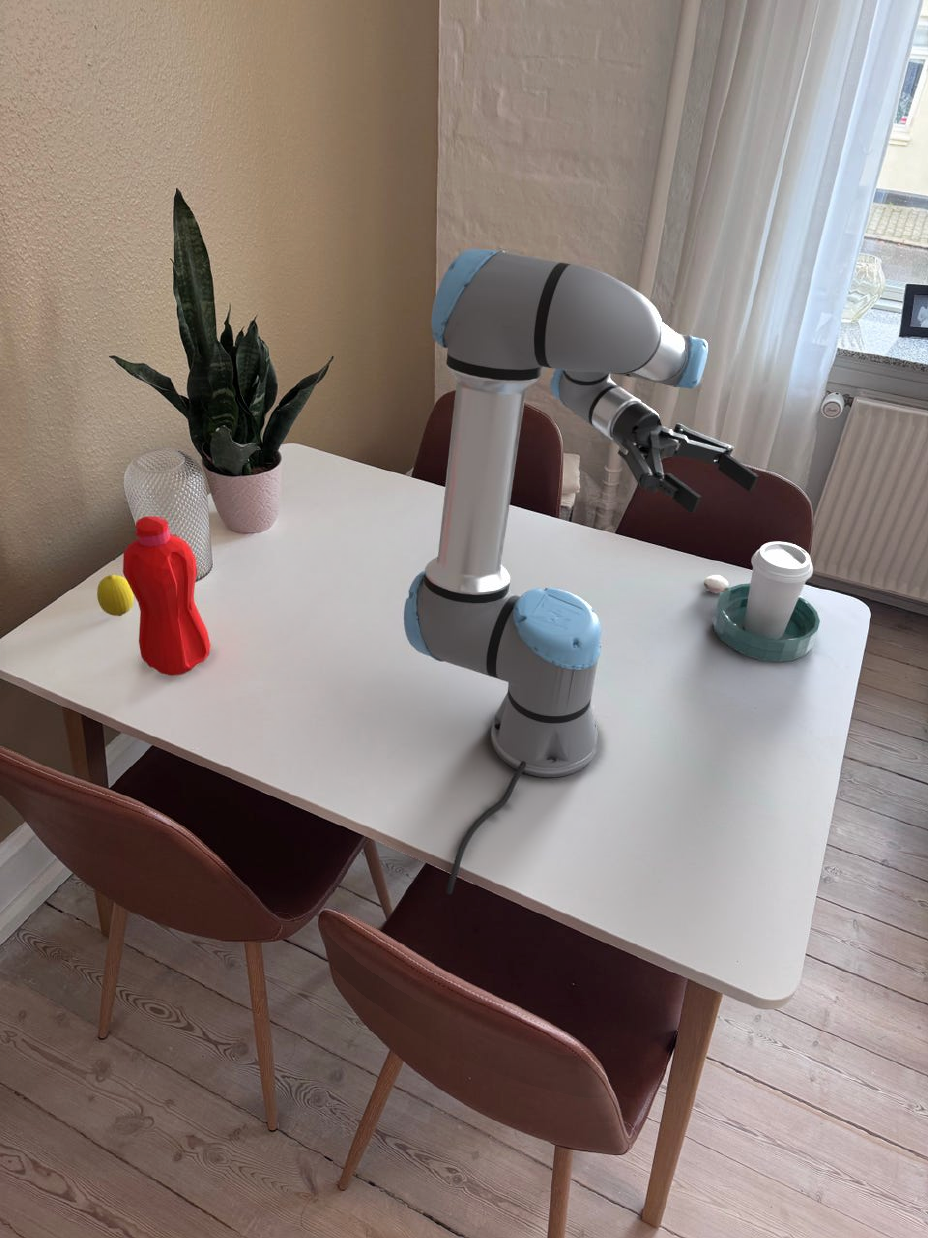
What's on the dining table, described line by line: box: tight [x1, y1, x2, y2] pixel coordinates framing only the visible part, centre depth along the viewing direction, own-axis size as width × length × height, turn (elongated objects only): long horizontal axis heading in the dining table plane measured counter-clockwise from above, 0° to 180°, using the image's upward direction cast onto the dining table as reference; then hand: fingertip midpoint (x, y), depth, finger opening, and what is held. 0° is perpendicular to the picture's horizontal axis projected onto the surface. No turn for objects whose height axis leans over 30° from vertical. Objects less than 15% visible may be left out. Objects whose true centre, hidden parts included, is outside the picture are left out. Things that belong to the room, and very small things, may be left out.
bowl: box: [712, 582, 821, 662], centre depth 155 cm, size 16×16×4 cm
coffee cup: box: [744, 541, 814, 640], centre depth 152 cm, size 10×10×15 cm
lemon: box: [96, 574, 135, 617], centre depth 151 cm, size 6×6×8 cm
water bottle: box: [122, 515, 211, 677], centre depth 139 cm, size 9×11×25 cm
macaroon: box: [703, 574, 729, 594], centre depth 166 cm, size 4×5×2 cm
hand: (726, 494), depth 137 cm, fingers open, 13 cm apart
